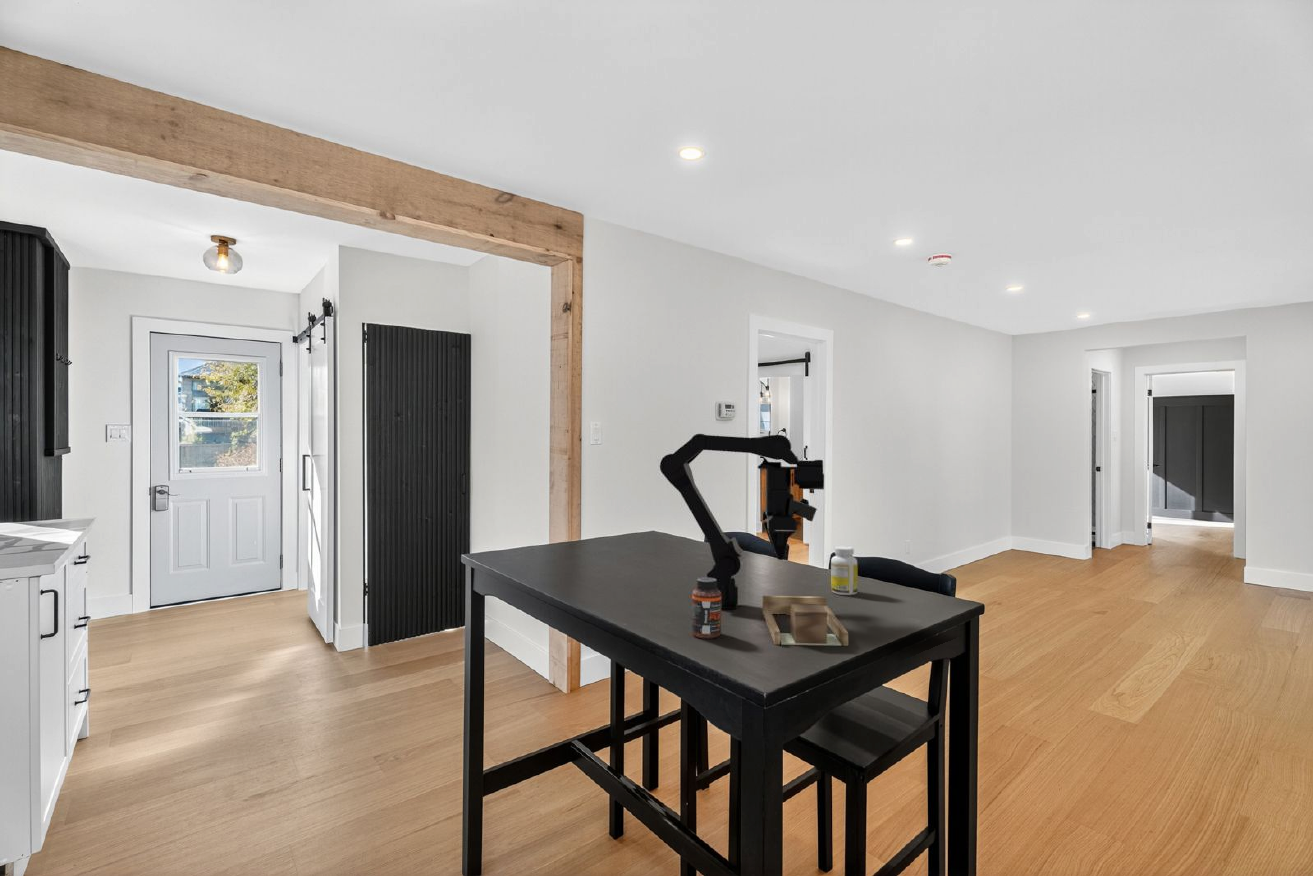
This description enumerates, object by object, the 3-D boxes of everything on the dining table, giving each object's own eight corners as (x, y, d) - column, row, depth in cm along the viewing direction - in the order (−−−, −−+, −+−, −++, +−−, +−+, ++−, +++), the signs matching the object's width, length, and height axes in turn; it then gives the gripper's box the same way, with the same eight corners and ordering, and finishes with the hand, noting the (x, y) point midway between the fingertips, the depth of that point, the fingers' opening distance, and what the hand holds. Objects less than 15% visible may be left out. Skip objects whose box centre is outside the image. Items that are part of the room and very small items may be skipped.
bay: (774, 644, 120) (774, 623, 120) (762, 613, 141) (762, 595, 141) (848, 645, 119) (848, 624, 119) (825, 614, 140) (825, 596, 140)
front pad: (781, 644, 120) (781, 642, 120) (777, 634, 126) (777, 633, 126) (841, 645, 119) (841, 644, 119) (834, 635, 125) (834, 634, 125)
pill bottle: (854, 590, 162) (854, 545, 162) (860, 596, 156) (860, 550, 156) (829, 589, 163) (829, 545, 163) (833, 595, 156) (833, 549, 156)
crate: (794, 643, 119) (794, 612, 119) (789, 633, 126) (789, 603, 126) (827, 643, 119) (827, 612, 119) (820, 633, 125) (820, 604, 125)
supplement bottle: (713, 641, 121) (713, 584, 121) (686, 636, 125) (686, 580, 125) (726, 633, 126) (726, 578, 126) (700, 628, 130) (700, 574, 130)
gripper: (821, 492, 134) (820, 564, 134) (807, 485, 153) (807, 549, 153) (768, 492, 135) (768, 563, 135) (761, 485, 154) (761, 548, 154)
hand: (778, 555), depth 144 cm, fingers open, 9 cm apart
